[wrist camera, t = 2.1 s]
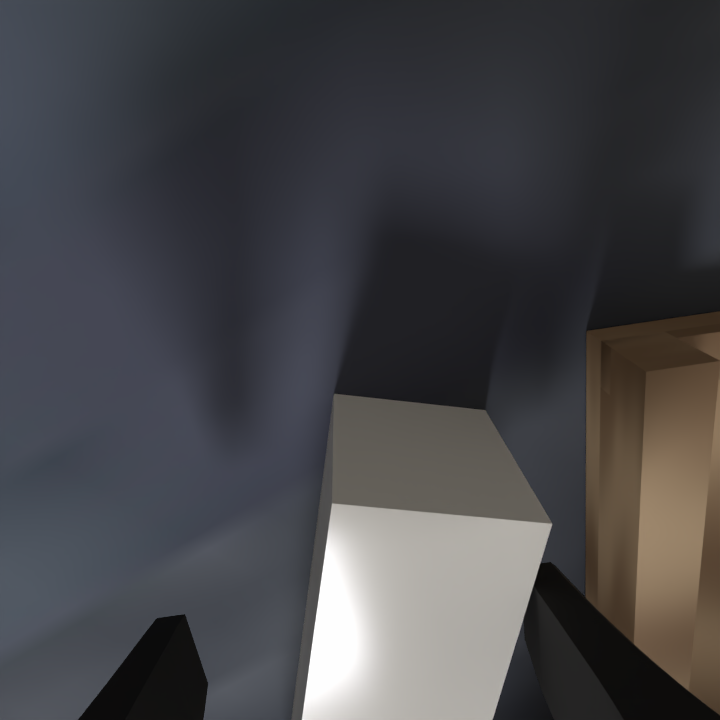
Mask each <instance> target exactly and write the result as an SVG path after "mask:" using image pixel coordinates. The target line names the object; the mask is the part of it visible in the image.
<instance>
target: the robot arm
mask: <svg viewBox="0 0 720 720" xmlns="http://www.w3.org/2000/svg"><path fill="white" fill-rule="evenodd" d="M524 633H525V641H526V644H527V648H528V651H529V654H530V657H531V660H532V663H533V667H534V670H535V673H536V676H537V679H538V682H539V685H540V688H541V691H542V693H543V695H544V698H545V700H546V702H547V705H548V707H549V709H550V711H551V714H552V716H553V718H554V720H720V715H719V714H718V713H716V712H715V711H714V710H712V709H711V708H710V707H708V706H707V705H706V704H705V703H703V702H702V701H701V700H699V699H698V698H697V697H696V696H694V695H693V694H692V693H691V692H689V691H688V690H687V689H686V688H684V687H683V686H682V685H681V684H680V683H678V682H677V681H676V680H675V679H674V678H672V677H671V676H670V675H669V674H668V673H666V672H665V671H664V670H663V669H662V668H661V667H659V666H658V665H657V664H656V663H655V662H653V661H652V660H651V659H650V658H649V657H648V656H647V655H646V654H644V653H643V652H642V651H641V650H640V649H639V648H638V647H637V646H635V645H634V644H633V643H632V642H631V641H630V640H629V639H628V638H627V637H626V636H625V635H624V634H623V633H621V632H620V631H619V630H618V629H617V628H616V627H615V626H614V625H613V624H612V623H611V622H610V621H609V620H608V619H607V618H606V617H605V616H603V615H602V614H601V613H600V612H599V611H598V610H597V609H596V608H595V607H594V606H593V605H592V604H591V603H590V602H589V601H588V600H587V599H586V598H585V597H584V596H583V595H582V594H581V593H580V591H579V590H578V589H577V588H576V587H575V586H574V585H573V584H572V583H571V582H570V581H569V580H568V579H567V578H566V577H565V576H564V575H563V574H562V573H561V571H560V570H559V569H558V568H557V567H556V566H555V565H553V564H552V563H551V562H548V563H541V564H540V566H539V569H538V572H537V576H536V579H535V582H534V586H533V589H532V592H531V595H530V599H529V602H528V605H527V609H526V612H525V615H524ZM207 688H208V682H207V679H206V676H205V673H204V670H203V667H202V664H201V661H200V658H199V655H198V652H197V649H196V646H195V643H194V640H193V637H192V634H191V631H190V628H189V625H188V622H187V619H186V616H185V614H184V615H177V616H170V617H163V618H157V619H156V620H155V621H154V623H153V624H152V625H151V626H150V628H149V629H148V630H147V631H146V633H145V634H144V635H143V637H142V638H141V639H140V641H139V642H138V643H137V644H136V646H135V647H134V648H133V650H132V651H131V652H130V654H129V655H128V656H127V658H126V659H125V660H124V662H123V663H122V664H121V666H120V667H119V668H118V669H117V671H116V672H115V673H114V675H113V676H112V677H111V679H110V680H109V681H108V683H107V684H106V685H105V686H104V688H103V689H102V690H101V691H100V693H99V694H98V695H97V697H96V698H95V699H94V700H93V702H92V703H91V704H90V705H89V707H88V708H87V709H86V710H85V712H84V713H83V714H82V716H81V717H80V718H79V719H78V720H203V718H204V711H205V703H206V695H207Z"/></svg>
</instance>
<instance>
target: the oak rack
mask: <svg viewBox="0 0 720 720" xmlns="http://www.w3.org/2000/svg"><path fill="white" fill-rule="evenodd" d="M586 599H587V600H588V601H589V602H590V603H591V604H592V605H593V606H594V607H595V608H596V609H597V610H598V611H599V612H600V613H601V614H602V615H603V616H605V617H606V618H607V619H608V620H609V621H610V622H611V623H612V624H613V625H614V626H615V627H616V628H617V629H618V630H619V631H620V632H621V633H623V634H624V635H625V636H626V637H627V638H628V639H629V640H630V641H631V642H632V643H633V644H634V645H635V646H637V647H638V648H639V649H640V650H641V651H642V652H643V653H644V654H646V655H647V656H648V657H649V658H650V659H651V660H652V661H653V662H655V663H656V664H657V665H658V666H659V667H661V668H662V669H663V670H664V671H665V672H666V673H668V674H669V675H670V676H671V677H672V678H674V679H675V680H676V681H677V682H678V683H680V684H681V685H682V686H683V687H684V688H686V689H687V690H688V691H689V692H691V693H692V694H693V695H694V696H696V697H697V698H698V699H699V700H701V701H702V702H703V703H705V704H706V705H707V706H708V707H710V708H711V709H712V710H714V711H715V712H716V713H718V714H719V715H720V311H718V312H711V313H704V314H698V315H691V316H684V317H677V318H670V319H664V320H657V321H650V322H643V323H636V324H630V325H623V326H616V327H609V328H603V329H596V330H589V331H587V335H586Z"/></svg>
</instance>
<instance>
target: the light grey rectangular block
mask: <svg viewBox="0 0 720 720" xmlns="http://www.w3.org/2000/svg"><path fill="white" fill-rule="evenodd" d="M551 527H552V522H551V521H550V519H549V517H548V516H547V514H546V512H545V511H544V509H543V507H542V506H541V504H540V502H539V500H538V499H537V497H536V495H535V494H534V492H533V490H532V489H531V487H530V485H529V484H528V482H527V480H526V478H525V477H524V475H523V473H522V472H521V470H520V468H519V467H518V465H517V463H516V462H515V460H514V458H513V456H512V455H511V453H510V451H509V450H508V448H507V446H506V445H505V443H504V441H503V440H502V438H501V436H500V434H499V433H498V431H497V429H496V428H495V426H494V424H493V423H492V421H491V419H490V417H489V416H488V414H487V412H486V411H485V410H479V409H470V408H461V407H452V406H442V405H433V404H424V403H415V402H406V401H396V400H387V399H378V398H369V397H360V396H350V395H341V394H334V397H333V404H332V412H331V420H330V427H329V435H328V443H327V450H326V458H325V466H324V473H323V481H322V489H321V496H320V504H319V512H318V519H317V527H316V535H315V542H314V550H313V558H312V565H311V573H310V581H309V588H308V596H307V604H306V611H305V619H304V627H303V634H302V642H301V650H300V657H299V665H298V673H297V680H296V688H295V696H294V703H293V711H292V719H291V720H493V717H494V713H495V710H496V707H497V704H498V700H499V697H500V694H501V690H502V687H503V684H504V681H505V677H506V674H507V671H508V668H509V664H510V661H511V658H512V654H513V651H514V648H515V645H516V641H517V638H518V635H519V631H520V628H521V625H522V622H523V618H524V615H525V612H526V609H527V605H528V602H529V599H530V595H531V592H532V589H533V586H534V582H535V579H536V576H537V572H538V569H539V566H540V563H541V559H542V556H543V553H544V550H545V546H546V543H547V540H548V536H549V533H550V530H551Z"/></svg>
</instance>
